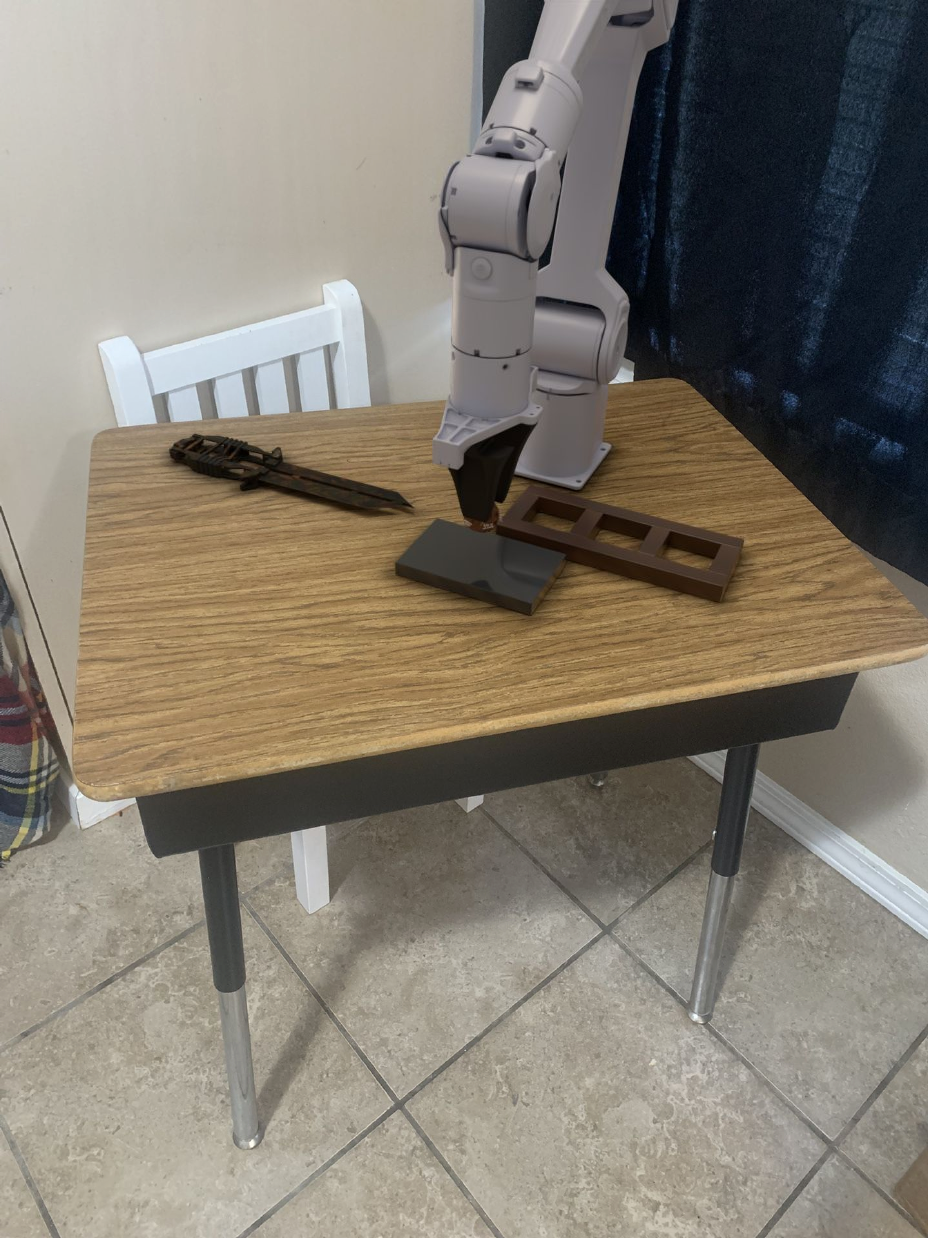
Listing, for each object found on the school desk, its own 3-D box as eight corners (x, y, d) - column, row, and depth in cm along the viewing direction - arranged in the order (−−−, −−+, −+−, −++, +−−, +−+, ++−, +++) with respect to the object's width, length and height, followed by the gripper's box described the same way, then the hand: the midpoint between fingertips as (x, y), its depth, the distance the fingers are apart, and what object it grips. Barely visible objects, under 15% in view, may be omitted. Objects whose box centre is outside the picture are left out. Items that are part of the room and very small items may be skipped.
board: (436, 529, 85) (436, 517, 85) (565, 565, 81) (566, 554, 81) (394, 574, 80) (394, 562, 79) (531, 615, 76) (532, 603, 75)
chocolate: (469, 543, 77) (470, 499, 74) (459, 528, 78) (460, 485, 76) (504, 536, 78) (507, 493, 75) (494, 522, 79) (496, 479, 77)
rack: (528, 498, 90) (529, 483, 89) (741, 554, 83) (744, 539, 82) (495, 539, 84) (496, 523, 83) (719, 602, 78) (723, 586, 77)
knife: (423, 507, 88) (423, 493, 87) (383, 541, 84) (383, 527, 83) (207, 435, 98) (205, 422, 97) (161, 462, 93) (159, 449, 92)
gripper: (502, 393, 62) (493, 568, 70) (580, 318, 72) (564, 479, 81) (404, 371, 64) (406, 543, 73) (493, 301, 75) (486, 459, 83)
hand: (483, 508), depth 77 cm, fingers closed on chocolate, 2 cm apart
